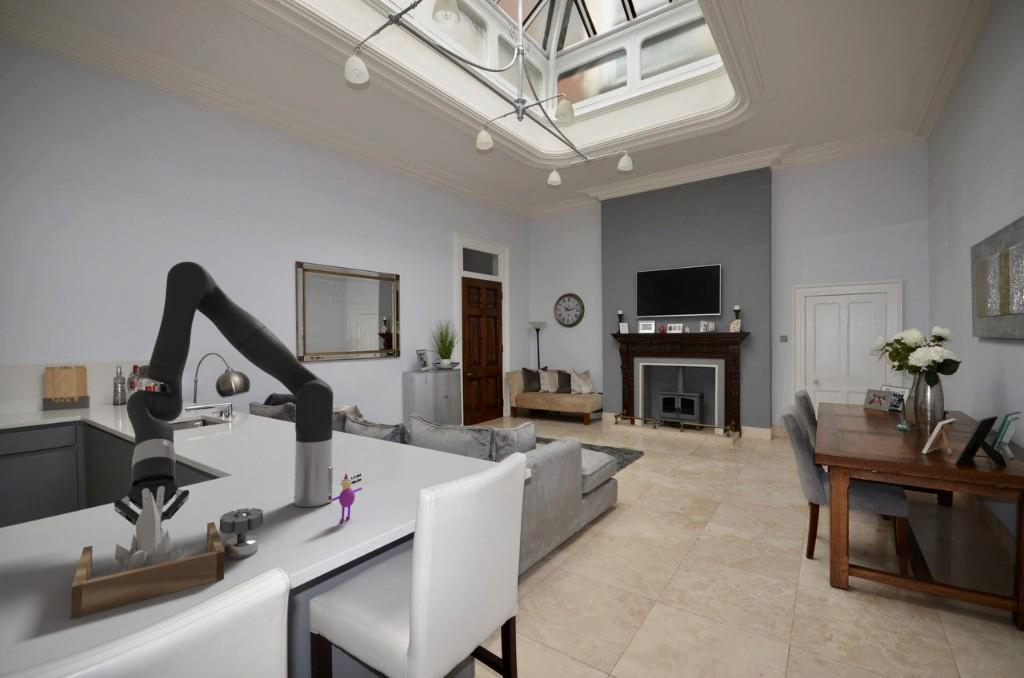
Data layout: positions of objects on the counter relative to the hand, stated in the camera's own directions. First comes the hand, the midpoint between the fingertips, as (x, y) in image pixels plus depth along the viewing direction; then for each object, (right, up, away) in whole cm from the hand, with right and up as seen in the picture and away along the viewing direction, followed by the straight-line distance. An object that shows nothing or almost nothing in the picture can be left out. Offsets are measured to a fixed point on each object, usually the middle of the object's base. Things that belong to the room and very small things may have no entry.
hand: (152, 540), depth 90 cm
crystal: (+4, -4, -5) cm, 8 cm away
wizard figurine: (+31, -5, +21) cm, 38 cm away
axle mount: (+16, -4, +4) cm, 17 cm away
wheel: (+16, +1, +4) cm, 16 cm away
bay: (+5, -4, -6) cm, 8 cm away
